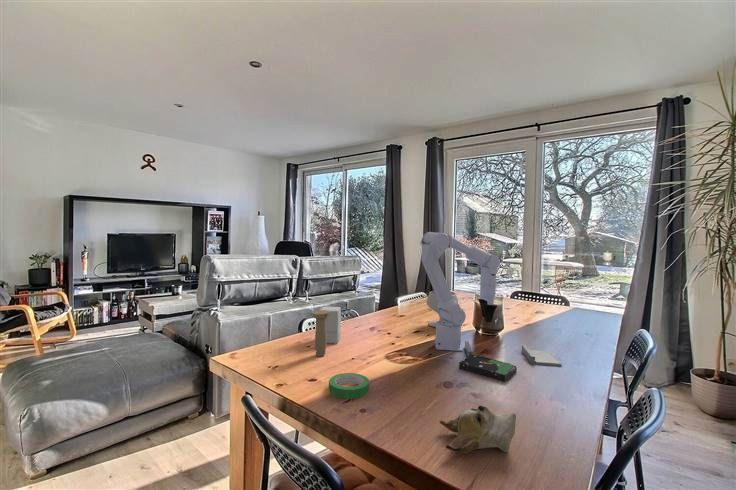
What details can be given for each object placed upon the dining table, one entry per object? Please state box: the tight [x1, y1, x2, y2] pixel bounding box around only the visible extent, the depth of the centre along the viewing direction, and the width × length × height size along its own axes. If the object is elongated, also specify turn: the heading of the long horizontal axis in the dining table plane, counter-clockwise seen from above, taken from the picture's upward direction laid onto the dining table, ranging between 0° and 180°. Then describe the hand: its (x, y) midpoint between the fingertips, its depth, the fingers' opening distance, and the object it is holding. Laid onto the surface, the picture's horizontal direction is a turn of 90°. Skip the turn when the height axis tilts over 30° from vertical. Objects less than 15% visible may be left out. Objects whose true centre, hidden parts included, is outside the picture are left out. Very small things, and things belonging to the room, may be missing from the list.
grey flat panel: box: [464, 340, 563, 367], centre depth 126 cm, size 30×12×2 cm, turn 81°
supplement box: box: [320, 306, 342, 344], centre depth 139 cm, size 7×7×13 cm
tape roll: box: [328, 372, 370, 400], centre depth 99 cm, size 11×11×3 cm
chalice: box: [426, 290, 459, 328], centre depth 164 cm, size 14×14×15 cm
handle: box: [311, 309, 330, 357], centre depth 123 cm, size 5×6×15 cm
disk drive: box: [458, 353, 517, 383], centre depth 113 cm, size 10×3×15 cm
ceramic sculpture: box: [439, 405, 517, 454], centre depth 74 cm, size 11×9×15 cm
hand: (486, 319), depth 139 cm, fingers open, 7 cm apart
